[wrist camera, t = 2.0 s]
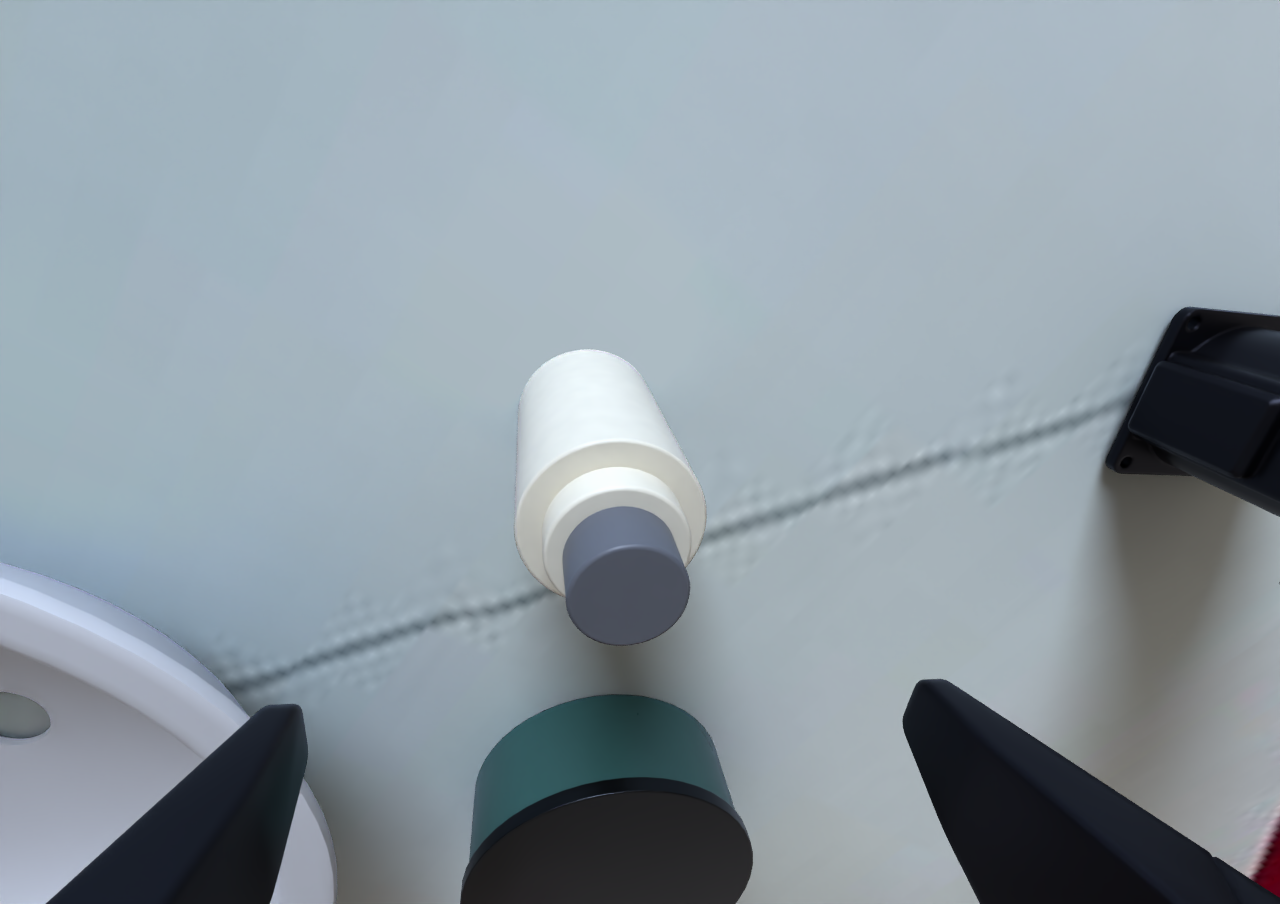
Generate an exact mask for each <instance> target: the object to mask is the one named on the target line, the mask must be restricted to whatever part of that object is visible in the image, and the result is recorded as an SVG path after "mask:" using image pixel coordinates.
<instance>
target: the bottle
mask: <svg viewBox="0 0 1280 904" xmlns="http://www.w3.org/2000/svg"><path fill="white" fill-rule="evenodd" d="M706 518H707V514H706V502H705V497H704V494H703V491H702V488H701V485H700V484H699V482H698V480H697V478H696V476H695V474H694V472H693V470H692V468H691V467H690V465H689V463H688V461H687V459H686V457H685V455H684V453H683V452H682V450H681V448H680V446H679V444H678V442H677V440H676V438H675V437H674V435H673V433H672V431H671V429H670V427H669V425H668V423H667V422H666V420H665V418H664V416H663V414H662V412H661V410H660V408H659V406H658V405H657V403H656V401H655V399H654V397H653V395H652V393H651V391H650V390H649V388H648V386H647V384H646V382H645V380H644V379H643V377H642V376H641V375H640V373H639V372H638V371H637V370H636V369H635V368H634V367H633V366H632V365H631V364H629V363H628V362H627V361H625V360H624V359H622V358H620V357H618V356H616V355H614V354H611V353H608V352H604V351H600V350H592V349H583V350H575V351H570V352H566V353H563V354H561V355H558V356H556V357H554V358H552V359H551V360H549V361H547V362H546V363H545V364H543V365H542V366H541V367H540V368H539V369H538V370H537V371H535V372H534V374H533V375H532V376H531V377H530V379H529V380H528V382H527V384H526V385H525V387H524V389H523V392H522V394H521V398H520V402H519V408H518V430H517V458H516V486H515V514H514V534H515V541H516V546H517V549H518V552H519V554H520V557H521V559H522V561H523V562H524V564H525V566H526V567H527V569H528V570H529V571H530V573H531V574H532V575H533V576H534V577H535V578H536V579H537V580H538V581H539V582H540V583H541V584H542V585H544V586H545V587H546V588H548V589H549V590H551V591H553V592H554V593H556V594H558V595H560V596H562V597H565V598H566V606H567V611H568V614H569V616H570V618H571V620H572V622H573V623H574V624H575V626H576V627H577V628H578V629H579V630H580V631H581V632H582V633H583V634H585V635H586V636H587V637H589V638H591V639H593V640H595V641H598V642H600V643H604V644H608V645H615V646H626V645H634V644H639V643H643V642H646V641H649V640H651V639H654V638H655V637H657V636H659V635H661V634H662V633H664V632H666V631H667V630H668V629H669V628H671V627H672V626H673V625H674V624H675V623H676V622H677V620H678V619H679V618H680V617H681V615H682V613H683V612H684V610H685V608H686V605H687V603H688V599H689V595H690V581H689V576H688V573H687V571H686V567H687V566H688V564H689V563H690V562H691V560H692V559H693V557H694V556H695V554H696V552H697V550H698V548H699V546H700V544H701V541H702V539H703V535H704V531H705V527H706Z"/></svg>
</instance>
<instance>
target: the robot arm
mask: <svg viewBox="0 0 1280 904" xmlns="http://www.w3.org/2000/svg"><path fill="white" fill-rule="evenodd" d="M1106 466H1107V467H1108V468H1109V469H1111V470H1113V471H1115V472H1117V473H1121V474H1150V475H1181V476H1195V477H1197V478H1199V479H1201V480H1203V481H1205V482H1207V483H1209V484H1211V485H1214V486H1216V487H1218V488H1220V489H1222V490H1224V491H1226V492H1228V493H1230V494H1233V495H1235V496H1237V497H1239V498H1241V499H1243V500H1245V501H1247V502H1249V503H1251V504H1254V505H1256V506H1258V507H1260V508H1262V509H1264V510H1266V511H1268V512H1270V513H1273V514H1275V515H1277V516H1279V517H1280V316H1277V315H1267V314H1257V313H1247V312H1237V311H1227V310H1217V309H1207V308H1197V307H1185V308H1183V309H1181V310H1180V311H1179V312H1178V313H1177V314H1176V315H1175V316H1174V318H1173V319H1172V321H1171V323H1170V326H1169V328H1168V330H1167V332H1166V334H1165V336H1164V338H1163V340H1162V342H1161V345H1160V347H1159V349H1158V351H1157V353H1156V355H1155V357H1154V359H1153V361H1152V364H1151V366H1150V368H1149V370H1148V372H1147V374H1146V376H1145V378H1144V381H1143V383H1142V385H1141V387H1140V389H1139V391H1138V393H1137V395H1136V397H1135V400H1134V402H1133V404H1132V406H1131V408H1130V410H1129V412H1128V414H1127V416H1126V419H1125V421H1124V423H1123V425H1122V427H1121V429H1120V431H1119V433H1118V435H1117V438H1116V440H1115V442H1114V444H1113V446H1112V448H1111V450H1110V452H1109V454H1108V457H1107V460H1106ZM1279 584H1280V583H1279ZM903 729H904V733H905V736H906V738H907V741H908V743H909V746H910V748H911V751H912V753H913V756H914V758H915V761H916V763H917V766H918V768H919V771H920V773H921V776H922V778H923V781H924V783H925V786H926V788H927V791H928V793H929V796H930V798H931V801H932V803H933V806H934V808H935V811H936V813H937V816H938V818H939V821H940V823H941V825H942V828H943V830H944V832H945V834H946V836H947V838H948V841H949V843H950V845H951V847H952V849H953V851H954V853H955V855H956V857H957V859H958V861H959V863H960V865H961V867H962V869H963V871H964V873H965V875H966V877H967V879H968V881H969V883H970V885H971V887H972V889H973V891H974V893H975V895H976V897H977V899H978V901H979V903H980V904H1280V898H1279V897H1277V896H1276V895H1274V894H1273V893H1271V892H1270V891H1268V890H1266V889H1265V888H1263V887H1262V886H1260V885H1259V884H1257V883H1256V882H1254V881H1252V880H1251V879H1249V878H1248V877H1246V876H1245V875H1243V874H1242V873H1240V872H1239V871H1237V870H1236V869H1234V868H1233V867H1231V866H1230V865H1228V864H1227V863H1225V862H1224V861H1222V860H1221V859H1219V858H1217V857H1212V855H1211V854H1210V853H1209V852H1208V851H1207V850H1205V849H1204V848H1202V847H1200V846H1199V845H1197V844H1196V843H1194V842H1193V841H1191V840H1190V839H1188V838H1187V837H1185V836H1184V835H1182V834H1181V833H1179V832H1178V831H1176V830H1175V829H1173V828H1172V827H1170V826H1168V825H1167V824H1165V823H1164V822H1162V821H1161V820H1159V819H1158V818H1156V817H1155V816H1153V815H1152V814H1150V813H1149V812H1147V811H1146V810H1144V809H1143V808H1141V807H1139V806H1138V805H1136V804H1135V803H1133V802H1132V801H1130V800H1129V799H1127V798H1126V797H1124V796H1123V795H1121V794H1120V793H1118V792H1117V791H1115V790H1114V789H1112V788H1111V787H1109V786H1107V785H1106V784H1104V783H1103V782H1101V781H1100V780H1098V779H1097V778H1095V777H1094V776H1092V775H1091V774H1089V773H1088V772H1086V771H1085V770H1083V769H1082V768H1080V767H1078V766H1077V765H1075V764H1074V763H1072V762H1071V761H1069V760H1068V759H1066V758H1065V757H1063V756H1062V755H1060V754H1059V753H1057V752H1056V751H1054V750H1053V749H1051V748H1050V747H1048V746H1046V745H1045V744H1043V743H1042V742H1040V741H1039V740H1037V739H1036V738H1034V737H1033V736H1031V735H1030V734H1028V733H1027V732H1025V731H1024V730H1022V729H1021V728H1019V727H1017V726H1016V725H1014V724H1013V723H1011V722H1010V721H1008V720H1007V719H1005V718H1004V717H1002V716H1001V715H999V714H998V713H996V712H995V711H993V710H992V709H990V708H989V707H987V706H985V705H984V704H982V703H981V702H979V701H978V700H976V699H975V698H973V697H972V696H970V695H969V694H967V693H966V692H964V691H963V690H961V689H960V688H958V687H956V686H955V685H953V684H952V683H950V682H949V681H947V680H943V679H928V680H920V681H919V682H918V683H917V684H916V686H915V688H914V690H913V693H912V695H911V698H910V700H909V703H908V705H907V708H906V710H905V713H904V716H903ZM307 758H308V745H307V738H306V732H305V725H304V719H303V713H302V709H301V708H300V706H299V705H296V704H280V705H268V706H265V707H263V708H261V709H260V710H259V711H258V712H257V713H255V714H254V715H253V716H252V717H251V718H250V719H249V720H248V721H247V722H246V723H244V724H243V725H242V726H241V727H240V728H239V729H238V730H237V731H236V732H234V733H233V734H232V735H231V736H230V737H229V738H228V739H227V740H226V741H225V742H223V743H222V744H221V745H220V746H219V747H218V748H217V749H216V750H215V751H213V752H212V753H211V754H210V755H209V756H208V757H207V758H206V759H205V760H204V761H202V762H201V763H200V764H199V765H198V766H197V767H196V768H195V769H194V770H193V771H191V772H190V773H189V774H188V775H187V776H186V777H185V778H184V779H183V780H181V781H180V782H179V783H178V784H177V785H176V786H175V787H174V788H173V789H172V790H170V791H169V792H168V793H167V794H166V795H165V796H164V797H163V798H162V799H161V800H159V801H158V802H157V803H156V804H155V805H154V806H153V807H152V808H151V809H149V810H148V811H147V812H146V813H145V814H144V815H143V816H142V817H141V818H140V819H138V820H137V821H136V822H135V823H134V824H133V825H132V826H131V827H130V828H128V829H127V830H126V831H125V832H124V833H123V834H122V835H121V836H120V837H119V838H117V839H116V840H115V841H114V842H113V843H112V844H111V845H110V846H109V847H108V848H106V849H105V850H104V851H103V852H102V853H101V854H100V855H99V856H98V857H96V858H95V859H94V860H93V861H92V862H91V863H90V864H89V865H88V866H87V867H85V868H84V869H83V870H82V871H81V872H80V873H79V874H78V875H77V876H75V877H74V878H73V879H72V880H71V881H70V882H69V883H68V884H67V885H66V886H64V887H63V888H62V889H61V890H60V891H59V892H58V893H57V894H56V895H55V896H53V897H52V898H51V899H50V900H49V901H48V902H47V903H46V904H270V902H271V899H272V896H273V893H274V889H275V886H276V882H277V878H278V875H279V871H280V867H281V863H282V859H283V855H284V851H285V847H286V844H287V840H288V836H289V832H290V828H291V824H292V820H293V816H294V812H295V808H296V804H297V801H298V797H299V793H300V789H301V785H302V781H303V777H304V773H305V769H306V765H307Z"/></svg>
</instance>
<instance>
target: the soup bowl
mask: <svg viewBox="0 0 1280 904" xmlns="http://www.w3.org/2000/svg"><path fill="white" fill-rule="evenodd" d="M0 692H8V693H14V694H18V695H21V696H24V697H27V698H29V699H31V700H33V701H35V702H36V703H38V704H39V705H40V706H41V707H43V708H44V709H45V711H46V712H47V713H48V715H49V717H50V721H51V726H50V728H49V729H48V730H47V731H45V732H44V733H42V734H40V735H38V736H35V737H31V738H25V739H19V738H9V737H4V736H0V904H46V903H47V902H48V901H49V900H50V899H51V898H52V897H53V896H55V895H56V894H57V893H58V892H59V891H60V890H61V889H62V888H63V887H64V886H66V885H67V884H68V883H69V882H70V881H71V880H72V879H73V878H74V877H75V876H77V875H78V874H79V873H80V872H81V871H82V870H83V869H84V868H85V867H87V866H88V865H89V864H90V863H91V862H92V861H93V860H94V859H95V858H96V857H98V856H99V855H100V854H101V853H102V852H103V851H104V850H105V849H106V848H108V847H109V846H110V845H111V844H112V843H113V842H114V841H115V840H116V839H117V838H119V837H120V836H121V835H122V834H123V833H124V832H125V831H126V830H127V829H128V828H130V827H131V826H132V825H133V824H134V823H135V822H136V821H137V820H138V819H140V818H141V817H142V816H143V815H144V814H145V813H146V812H147V811H148V810H149V809H151V808H152V807H153V806H154V805H155V804H156V803H157V802H158V801H159V800H161V799H162V798H163V797H164V796H165V795H166V794H167V793H168V792H169V791H170V790H172V789H173V788H174V787H175V786H176V785H177V784H178V783H179V782H180V781H181V780H183V779H184V778H185V777H186V776H187V775H188V774H189V773H190V772H191V771H193V770H194V769H195V768H196V767H197V766H198V765H199V764H200V763H201V762H202V761H204V760H205V759H206V758H207V757H208V756H209V755H210V754H211V753H212V752H213V751H215V750H216V749H217V748H218V747H219V746H220V745H221V744H222V743H223V742H225V741H226V740H227V739H228V738H229V737H230V736H231V735H232V734H233V733H234V732H236V731H237V730H238V729H239V728H240V727H241V726H242V725H243V724H244V723H246V722H247V721H248V720H249V719H250V717H249V716H248V715H247V713H246V712H245V711H244V709H243V708H242V707H241V705H240V704H239V703H238V701H237V700H236V699H235V697H234V696H233V695H232V694H231V693H230V692H229V690H228V689H227V688H226V687H225V686H224V685H223V684H222V683H221V682H220V681H219V680H218V678H217V677H216V676H215V675H214V674H213V673H211V672H210V671H209V670H208V669H207V668H206V667H205V666H204V665H203V664H201V663H200V662H199V661H198V660H197V659H196V658H195V657H194V656H192V655H191V654H190V653H189V652H187V651H186V650H185V649H184V648H182V647H181V646H180V645H178V644H177V643H176V642H174V641H173V640H172V639H170V638H169V637H168V636H166V635H165V634H163V633H162V632H160V631H158V630H157V629H155V628H154V627H152V626H151V625H149V624H147V623H146V622H144V621H143V620H141V619H139V618H138V617H136V616H134V615H132V614H130V613H128V612H126V611H125V610H123V609H121V608H119V607H117V606H115V605H113V604H112V603H110V602H107V601H105V600H103V599H101V598H99V597H96V596H94V595H92V594H90V593H87V592H85V591H83V590H81V589H79V588H76V587H73V586H71V585H68V584H65V583H63V582H60V581H57V580H55V579H52V578H49V577H47V576H44V575H41V574H38V573H35V572H31V571H28V570H25V569H21V568H18V567H15V566H12V565H8V564H5V563H1V562H0ZM336 899H337V861H336V856H335V851H334V846H333V841H332V836H331V833H330V830H329V828H328V825H327V822H326V820H325V817H324V814H323V811H322V809H321V807H320V806H319V804H318V802H317V800H316V798H315V796H314V795H313V793H312V791H311V789H310V787H309V785H308V783H307V782H306V781H305V779H304V778H303V781H302V785H301V789H300V793H299V797H298V801H297V804H296V808H295V812H294V816H293V820H292V824H291V828H290V832H289V836H288V840H287V844H286V847H285V851H284V855H283V859H282V863H281V867H280V871H279V875H278V878H277V882H276V886H275V889H274V893H273V896H272V899H271V902H270V904H336Z"/></svg>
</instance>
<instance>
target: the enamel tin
mask: <svg viewBox="0 0 1280 904" xmlns="http://www.w3.org/2000/svg"><path fill="white" fill-rule="evenodd" d="M752 865H753V851H752V847H751V842H750V839H749V836H748V833H747V830H746V827H745V825H744V823H743V821H742V819H741V818H740V816H739V815H738V814H737V812H736V811H735V809H734V805H733V802H732V799H731V796H730V793H729V790H728V787H727V784H726V780H725V777H724V774H723V771H722V768H721V765H720V762H719V759H718V755H717V752H716V749H715V746H714V744H713V741H712V739H711V737H710V735H709V734H708V732H707V731H706V730H705V728H704V727H703V726H702V725H701V724H700V723H699V722H698V721H697V720H696V719H695V718H694V717H693V716H691V715H690V714H688V713H687V712H685V711H684V710H682V709H680V708H678V707H676V706H674V705H672V704H669V703H666V702H663V701H660V700H657V699H652V698H648V697H643V696H633V695H604V696H594V697H588V698H583V699H578V700H574V701H571V702H567V703H564V704H560V705H558V706H555V707H553V708H550V709H548V710H545V711H543V712H541V713H539V714H537V715H535V716H533V717H531V718H529V719H528V720H526V721H525V722H523V723H522V724H520V725H518V726H517V727H515V728H514V729H513V730H512V731H511V732H509V733H508V734H507V735H506V736H505V737H503V738H502V740H501V741H500V742H499V743H498V744H497V745H496V746H495V747H494V748H493V749H492V751H491V752H490V754H489V755H488V756H487V758H486V759H485V761H484V763H483V765H482V767H481V769H480V771H479V774H478V778H477V781H476V787H475V797H474V810H473V822H472V834H471V846H470V858H469V864H468V865H467V867H466V871H465V874H464V877H463V880H462V890H461V901H460V904H735V903H736V902H737V901H738V899H739V898H740V896H741V895H742V893H743V891H744V890H745V888H746V886H747V883H748V880H749V878H750V875H751V870H752Z"/></svg>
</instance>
